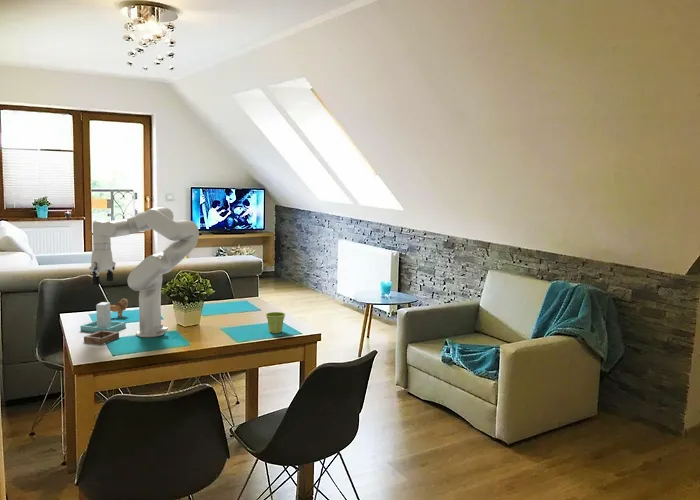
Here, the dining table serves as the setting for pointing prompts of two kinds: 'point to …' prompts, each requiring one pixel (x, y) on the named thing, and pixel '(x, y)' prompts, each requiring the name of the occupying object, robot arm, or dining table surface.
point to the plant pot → (275, 321)
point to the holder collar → (105, 334)
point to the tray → (93, 328)
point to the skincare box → (103, 315)
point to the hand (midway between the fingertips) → (103, 282)
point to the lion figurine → (119, 307)
